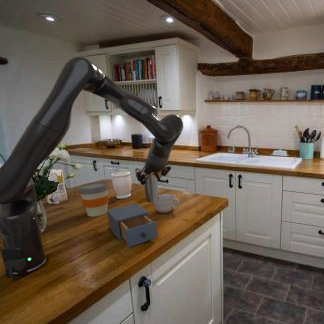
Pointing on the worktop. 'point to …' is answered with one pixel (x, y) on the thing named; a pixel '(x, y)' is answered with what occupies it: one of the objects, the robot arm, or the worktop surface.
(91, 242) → the worktop surface
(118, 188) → the jar
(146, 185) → the brushed steel cylinder
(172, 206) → the teacup
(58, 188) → the juice carton
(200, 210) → the worktop surface
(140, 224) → the drawer
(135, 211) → the cabinet
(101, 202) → the reusable coffee cup
